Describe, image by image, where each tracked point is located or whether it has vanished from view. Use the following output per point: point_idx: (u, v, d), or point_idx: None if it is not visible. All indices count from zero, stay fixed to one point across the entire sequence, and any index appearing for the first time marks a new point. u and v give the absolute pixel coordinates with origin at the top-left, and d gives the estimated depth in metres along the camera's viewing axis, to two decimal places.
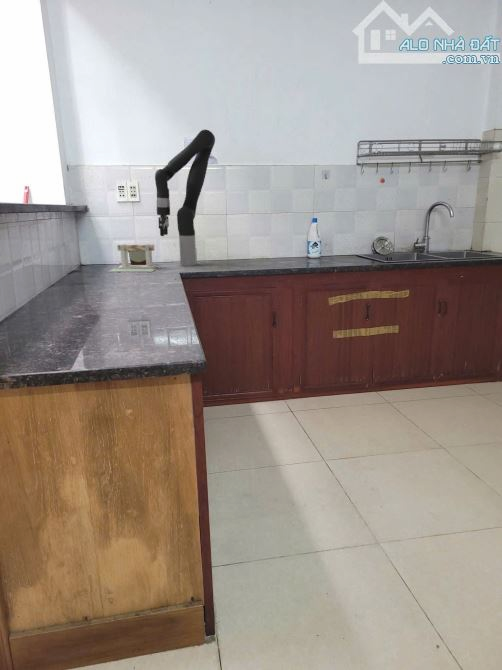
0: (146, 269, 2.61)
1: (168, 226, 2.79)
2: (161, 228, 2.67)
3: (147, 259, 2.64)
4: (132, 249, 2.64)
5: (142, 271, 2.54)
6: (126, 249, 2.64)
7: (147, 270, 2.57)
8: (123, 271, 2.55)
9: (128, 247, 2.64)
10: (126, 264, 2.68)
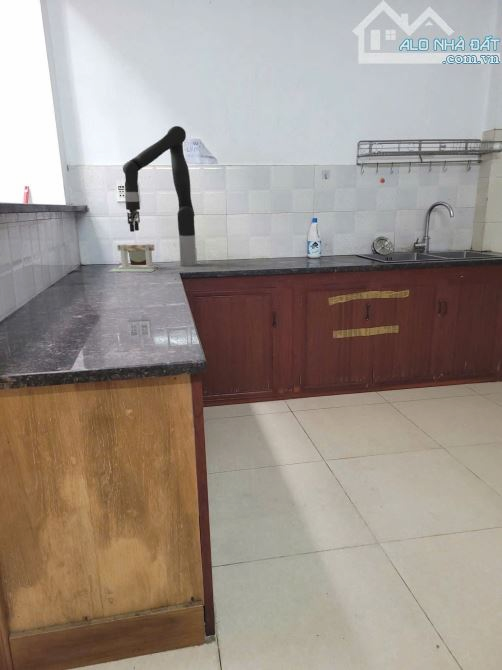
0: (146, 269, 2.61)
1: (139, 221, 2.67)
2: (130, 223, 2.55)
3: (147, 259, 2.64)
4: (132, 249, 2.64)
5: (142, 271, 2.54)
6: (126, 249, 2.64)
7: (147, 270, 2.57)
8: (123, 271, 2.55)
9: (128, 247, 2.64)
10: (126, 264, 2.68)
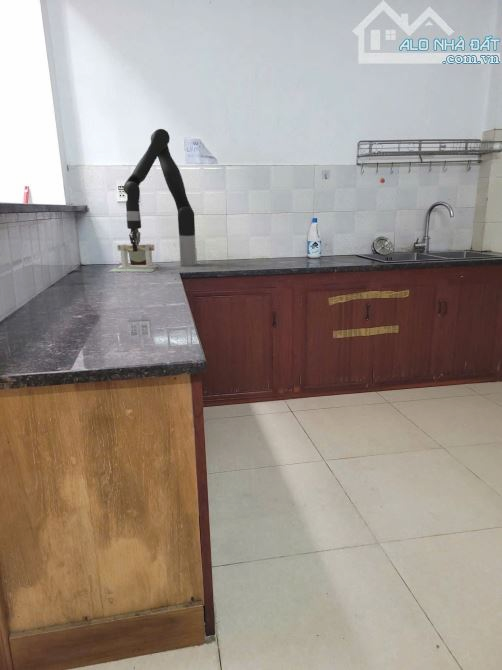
0: (146, 269, 2.61)
1: (139, 242, 2.68)
2: (133, 244, 2.61)
3: (147, 259, 2.64)
4: (132, 249, 2.64)
5: (142, 271, 2.54)
6: (126, 249, 2.64)
7: (147, 270, 2.57)
8: (123, 271, 2.55)
9: (128, 247, 2.64)
10: (126, 264, 2.68)
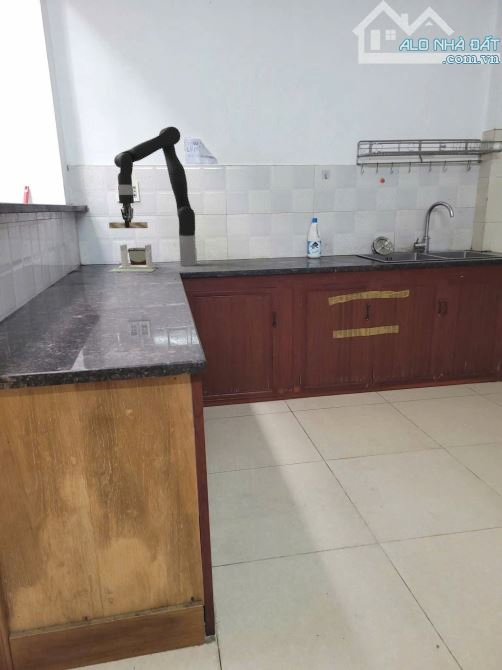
0: (146, 269, 2.61)
1: (132, 218, 2.55)
2: (125, 219, 2.48)
3: (147, 259, 2.64)
4: (124, 227, 2.51)
5: (142, 271, 2.54)
6: (118, 227, 2.51)
7: (147, 270, 2.57)
8: (123, 271, 2.55)
9: (120, 224, 2.51)
10: (126, 264, 2.68)
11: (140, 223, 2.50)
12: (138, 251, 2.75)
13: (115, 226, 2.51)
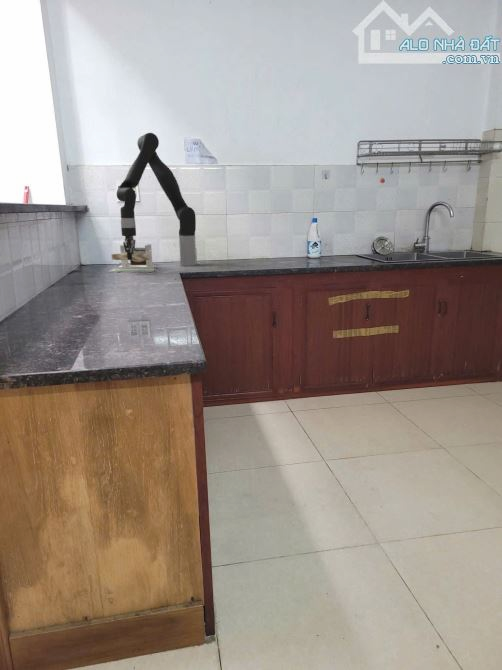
0: (146, 269, 2.61)
1: (134, 249, 2.59)
2: (128, 252, 2.52)
3: None
4: (126, 258, 2.56)
5: (142, 271, 2.54)
6: (120, 258, 2.56)
7: (147, 270, 2.57)
8: (123, 271, 2.55)
9: (122, 256, 2.55)
10: (126, 264, 2.68)
11: (142, 255, 2.55)
12: (138, 251, 2.75)
13: (117, 258, 2.56)
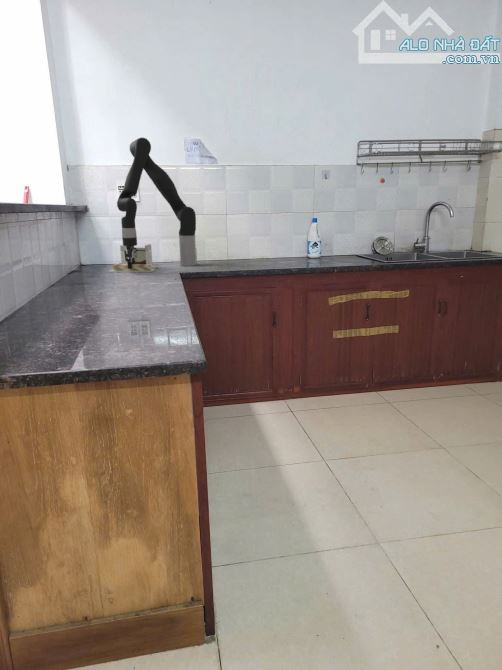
0: None
1: None
2: (128, 261, 2.52)
3: (147, 259, 2.64)
4: (128, 269, 2.57)
5: (142, 271, 2.54)
6: (122, 269, 2.57)
7: None
8: (123, 271, 2.55)
9: (124, 267, 2.57)
10: None
11: (143, 266, 2.56)
12: (138, 251, 2.75)
13: (119, 268, 2.57)
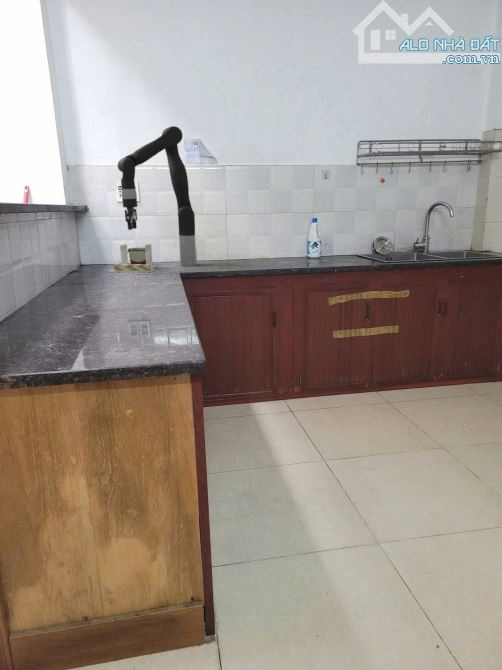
0: None
1: None
2: (128, 221, 2.49)
3: (147, 259, 2.64)
4: (128, 269, 2.57)
5: (142, 271, 2.54)
6: (122, 269, 2.57)
7: None
8: (123, 271, 2.55)
9: (124, 267, 2.57)
10: None
11: (143, 266, 2.56)
12: (138, 251, 2.75)
13: (119, 268, 2.57)
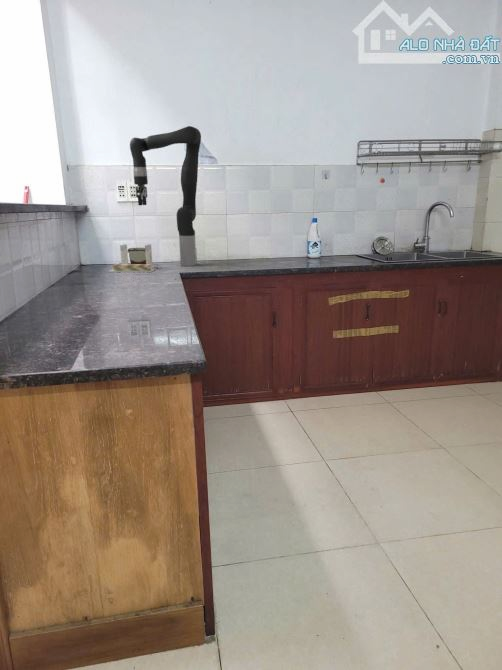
0: None
1: None
2: (139, 197, 2.67)
3: (147, 259, 2.64)
4: (128, 269, 2.57)
5: (142, 271, 2.54)
6: (122, 269, 2.57)
7: None
8: (123, 271, 2.55)
9: (124, 267, 2.57)
10: None
11: (143, 266, 2.56)
12: (138, 251, 2.75)
13: (119, 268, 2.57)
